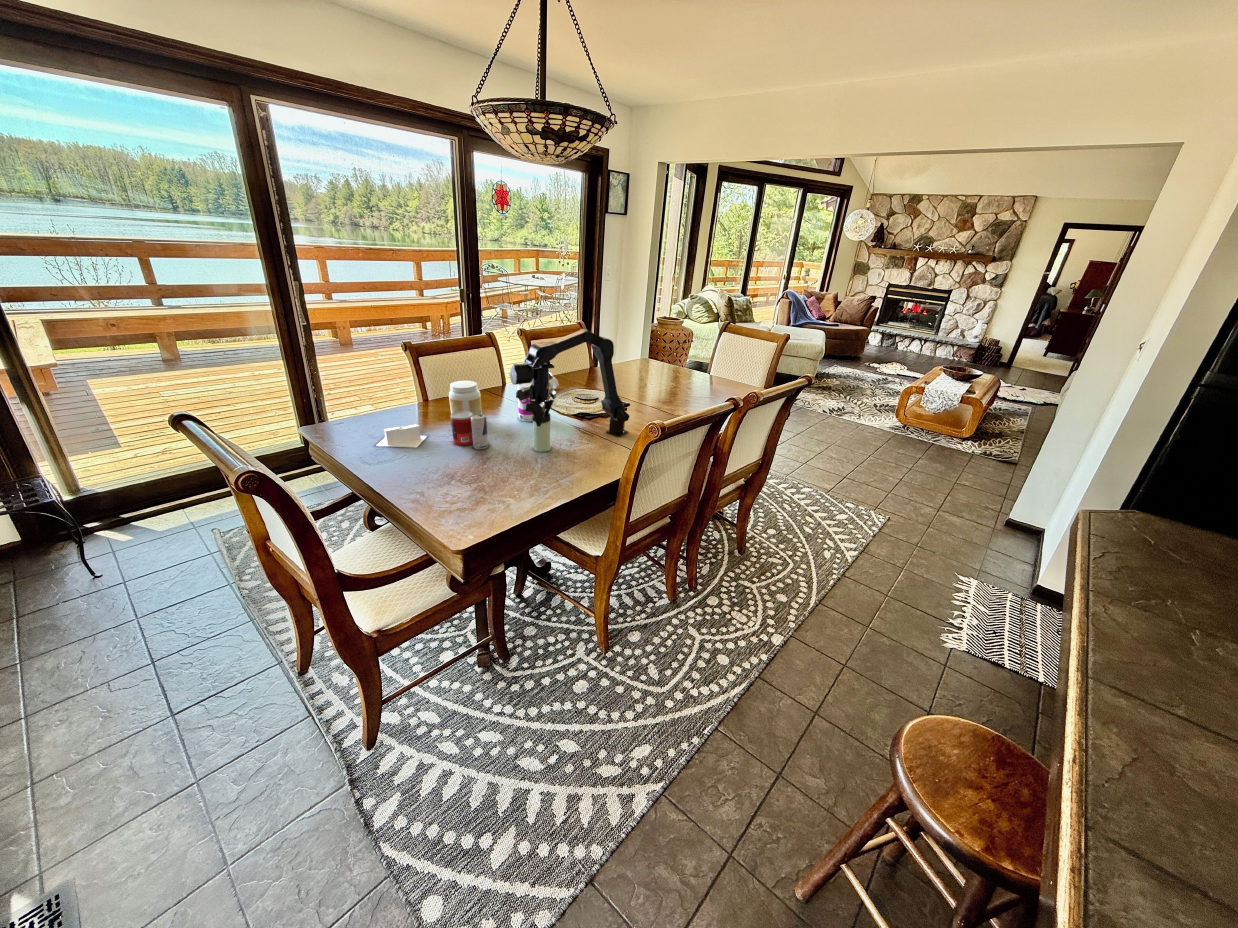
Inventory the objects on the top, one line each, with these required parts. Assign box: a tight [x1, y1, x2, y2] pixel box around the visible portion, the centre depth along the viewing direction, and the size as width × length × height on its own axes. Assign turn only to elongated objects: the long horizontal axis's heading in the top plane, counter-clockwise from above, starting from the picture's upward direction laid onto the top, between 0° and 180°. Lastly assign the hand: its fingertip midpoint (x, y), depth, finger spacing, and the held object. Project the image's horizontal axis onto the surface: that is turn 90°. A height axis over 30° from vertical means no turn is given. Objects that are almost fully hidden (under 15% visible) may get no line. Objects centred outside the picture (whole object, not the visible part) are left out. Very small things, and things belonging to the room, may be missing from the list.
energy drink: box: [471, 413, 489, 450], centre depth 175 cm, size 5×5×12 cm
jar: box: [532, 420, 551, 453], centre depth 176 cm, size 6×6×13 cm
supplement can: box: [516, 382, 535, 423], centre depth 203 cm, size 8×8×15 cm
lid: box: [532, 412, 551, 423], centre depth 173 cm, size 7×6×2 cm
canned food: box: [450, 411, 473, 447], centre depth 178 cm, size 8×8×11 cm
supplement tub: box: [448, 380, 483, 415], centre depth 194 cm, size 12×12×17 cm
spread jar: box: [549, 371, 560, 390], centre depth 242 cm, size 12×11×12 cm
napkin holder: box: [375, 423, 428, 448], centre depth 178 cm, size 15×11×6 cm
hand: (541, 423), depth 174 cm, fingers closed on lid, 6 cm apart
